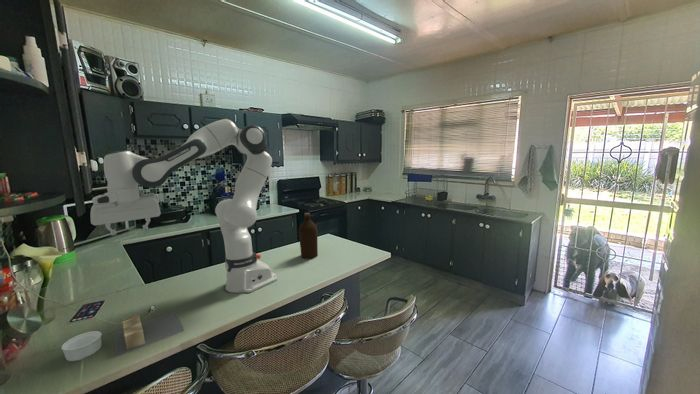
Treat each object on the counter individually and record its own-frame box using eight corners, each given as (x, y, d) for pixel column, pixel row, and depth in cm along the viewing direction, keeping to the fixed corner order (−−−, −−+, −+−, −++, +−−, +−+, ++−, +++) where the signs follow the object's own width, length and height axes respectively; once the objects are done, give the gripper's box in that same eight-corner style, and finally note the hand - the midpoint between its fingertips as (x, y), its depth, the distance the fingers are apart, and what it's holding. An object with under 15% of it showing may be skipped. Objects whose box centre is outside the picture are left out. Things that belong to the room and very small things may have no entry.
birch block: (124, 337, 84) (122, 320, 93) (127, 350, 85) (124, 332, 94) (142, 330, 87) (139, 314, 96) (145, 343, 88) (141, 326, 97)
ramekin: (69, 349, 87) (67, 337, 86) (106, 339, 92) (104, 327, 91) (59, 367, 80) (56, 354, 79) (99, 355, 84) (97, 342, 83)
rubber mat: (175, 312, 106) (175, 311, 106) (184, 331, 94) (184, 330, 94) (113, 333, 94) (113, 332, 94) (115, 358, 82) (115, 357, 82)
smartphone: (67, 323, 101) (83, 304, 114) (67, 324, 101) (83, 305, 114) (94, 317, 104) (106, 299, 117) (94, 318, 104) (107, 300, 117)
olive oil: (317, 259, 155) (315, 215, 151) (298, 259, 155) (295, 215, 151) (319, 252, 165) (317, 211, 161) (302, 252, 166) (299, 211, 162)
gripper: (157, 191, 111) (162, 225, 113) (87, 198, 98) (94, 236, 100) (159, 193, 106) (164, 228, 108) (86, 200, 93) (93, 240, 95)
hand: (130, 232), depth 104 cm, fingers open, 8 cm apart
